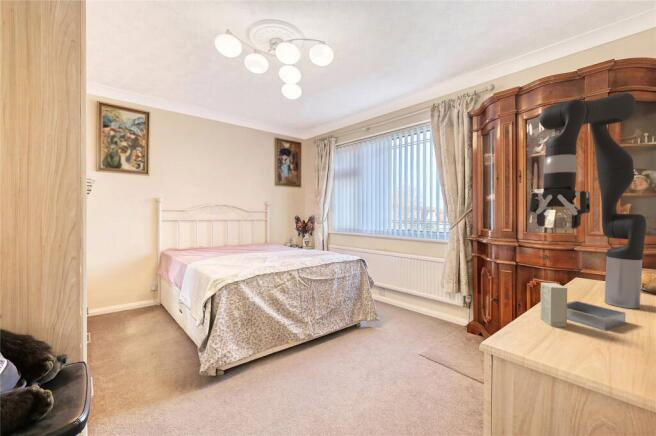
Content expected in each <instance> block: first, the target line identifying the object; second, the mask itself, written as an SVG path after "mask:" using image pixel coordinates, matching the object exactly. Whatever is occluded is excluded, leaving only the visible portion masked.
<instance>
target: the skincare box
mask: <svg viewBox="0 0 656 436" xmlns="http://www.w3.org/2000/svg"><path fill="white" fill-rule="evenodd" d="M567 303H568V287H566V286H564V285H562V284H559V283H557V282H540V320H541V321H542V322H544V323H545V324H546V325H548V326H550V327H557V328H567V327H568V321H567Z"/></svg>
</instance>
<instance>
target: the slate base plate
mask: <svg viewBox="0 0 656 436" xmlns="http://www.w3.org/2000/svg"><path fill="white" fill-rule="evenodd" d="M576 311H577V310H576ZM579 312H581V311H579ZM583 313H585V312H583ZM586 314H588V313H586ZM590 315H592V314H590ZM594 316H596V315H594ZM598 317H599V316H598ZM601 318H603V317H601ZM567 320H568V321H570V322H574V323H578V324H580V325H583V326H587V327H591V328H594V329H597V330H601V331H604V332H610V331H612V330H615V329H619V328H621V327H623V326H626V325H628V324H630V322H626V321H625V323H623V324H620V325H617V326H614V327H612V328H609V329H606V330H603V329H600V328H597V327H593V326H590V325H587V324H583V323H580V322H577V321H573V320H570V319H567Z"/></svg>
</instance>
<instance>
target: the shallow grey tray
mask: <svg viewBox="0 0 656 436" xmlns="http://www.w3.org/2000/svg"><path fill="white" fill-rule="evenodd" d="M576 310H577V311H576ZM579 311H581V312H579ZM583 312H585V313H583ZM586 313H588V314H586ZM590 314H592V315H590ZM626 314H627V313H626V312H624V311H619V310H616V309H613V308H608V307H603V306H599V305H595V304H591V303H587V302H582V301H579V300H573V301H567V319H570V320H573V321H572V322H574V321H577V322H580V323H583V324H582V325H584V324H587V325H590V326H593V327H592V328H594V327H597V328H600V329H603V330H602V331H604V330H606V329H609V328H612V327H614V326H617V325H620V324H623V323H625V322H626V316H627V315H626ZM594 315H596V316H594ZM598 316H599V317H598ZM601 317H603V318H601ZM570 320H569V321H570ZM577 322H576V323H577ZM580 323H579V324H580ZM587 325H586V326H587ZM590 326H589V327H590ZM597 328H596V329H597ZM600 329H599V330H600Z"/></svg>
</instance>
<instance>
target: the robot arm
mask: <svg viewBox="0 0 656 436" xmlns="http://www.w3.org/2000/svg"><path fill="white" fill-rule="evenodd" d="M636 111H637V99H636V98H635V96H634V95H633V94H631V93H629V92H622V93H616V94H613V95H608V96H604V97H601V98H597V99H593V100H592V99H590V100H581V99H577V98H575V99H571V100H567V101H563V102H559V103H555V104H552V105H548V106H546V107H545V108H544V109H543V110H541V112H540V114H539V123H540V126H542V128H543V129H546V130H548V131H549V130H550V131H552V130H557V129H558V130H559V129H562V128H563V129H562V131H561V132H560V133H558V134H556V135H553V136H551V137H549V138H548V139H547V140H546V143H545V158H544V159H545V160H544V163H543V164H544V165H543V180H542V181H543V183H542V185H543V186H542V187H543V192H542V193H539V192H533V193H531V195H530V205H529V212H530V213H534V214H536V225H537V226H538V227H539V228H541V227H542V228H543V227H545V226H546V214H545V213H547V211H548V210H549V209H551V207H553V208H557V207H560V208H561V207H562V208H566V209H567V210H569V211H570V212H571V214H572V215H571V221H570V222H571V223H570V225H571V226H570V228H571V229H578V228H579V227H581V225H582V224H581V223H582V222H581V221H582V215H585V214H589V213H590V212H591V197H590V192H589V191H587V190H585V191H584V190H582V191H579V192H578V191H576V188H577V167H578V164H577V163H578V162H577V142H578V139H579V135H580V133H581V130H582V127H583V126H584V125H588V124H589V127H590V131H591V136H592V140H593V145H594V153H595V161H596V163H595V164H596V172H597V180H598V185H599V191H600V203H601V229H602V232H603V235H604V236H605V237H607V238H610V239H618V240H620V239H621V240H628V241H627V243H625V244H623V245H621V246H617V247H611V248H608V249H607V251H606V261H605V263H606V267H605V282H604V298H603V299H604V300H603V301H604V303H605V304H608V305H610V306H615V307H619V308H625V309H640V308H641V292H642V275H643V272H642V271H643V259H644V258H643V257H644V249H645V240H646V232H647V220H646V217H645V216H644V215H642V214H639V213H618V212H617V210H618V209H617V206H618V203H619V201H620V199H621V197H622V196H623V195H624V193H626V191H627V190H628V189H629V188H630V186H631V185H632V183H633V181H634V179H635V169H634V167H635V166H634V160H633V157H632V155H630V153H628V152H627V151H626V150H625V149H624V148H623V147H622V146H621V145H620V144H619V143H618V142H616V141H615V140H614V139H613V138H612V136H611V134H610V132H609V129H608V125H611V124H618V123H623V122H626V121H628V120H630V119H631V118H633V116H635V114H636ZM576 198H577V199H578V200H579V207H578V204H576V203H575V202H574V200H575V199H576ZM541 199H543V200H544V201H543V202H542V203H541V204H540V200H541Z"/></svg>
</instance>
